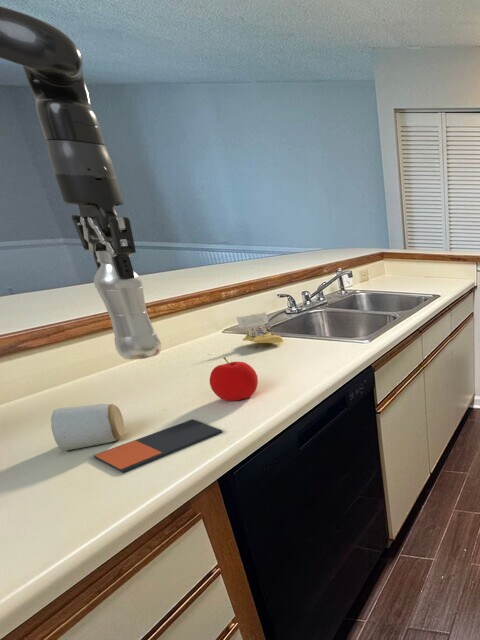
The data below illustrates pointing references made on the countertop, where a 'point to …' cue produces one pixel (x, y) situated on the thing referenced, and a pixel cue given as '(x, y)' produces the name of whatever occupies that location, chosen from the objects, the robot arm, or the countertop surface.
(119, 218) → the robot arm
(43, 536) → the countertop surface
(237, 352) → the countertop surface
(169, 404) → the countertop surface
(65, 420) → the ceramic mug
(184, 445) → the mat
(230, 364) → the fruit
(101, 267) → the plastic bottle
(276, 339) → the model sailing ship
